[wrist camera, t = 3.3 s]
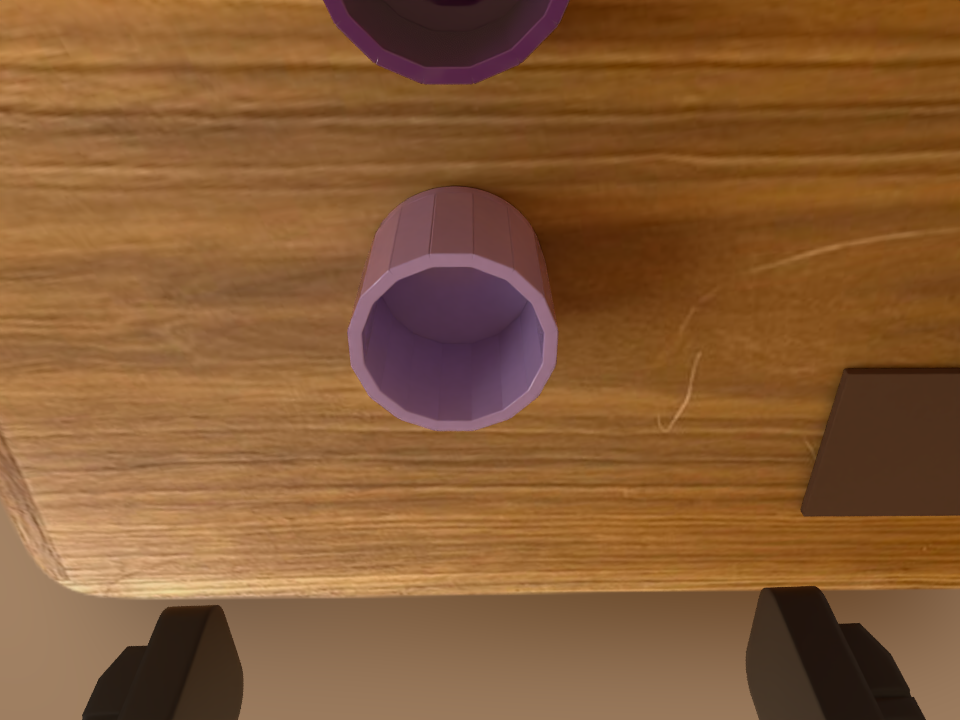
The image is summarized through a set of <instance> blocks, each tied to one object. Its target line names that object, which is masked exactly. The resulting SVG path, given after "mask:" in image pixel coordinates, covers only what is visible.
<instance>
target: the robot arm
mask: <svg viewBox="0 0 960 720" xmlns="http://www.w3.org/2000/svg"><path fill="white" fill-rule="evenodd" d="M746 673H747V680H748V685H749V689H750V693H751V696H752V699H753V702H754V705H755V708H756V711H757V714H758V717H759V720H926V719H925V717H924V715H923V713H922V712H921V710H920V708H919V706H918V705H917V702H916V700H915V698H914V697H911V695H910V689H909V687H908V685H907V683H906V682H905V680H904V678H903V676H902V674H901V672H900V670H899V668H898V667H897V665H896V663H895V661H894V659H893V657H892V656H891V654H890V653H889V652H888V651H887V650H886V649H885V648H884V647H883V646H882V645H881V644H880V643H879V642H878V641H877V640H876V639H875V638H874V637H873V636H872V635H871V634H870V633H869V632H868V631H867V630H866V629H865V628H864V627H863V626H862V625H861V624H860V623H851V624H838V622H837V620H836V618H835V616H834V614H833V612H832V610H831V608H830V606H829V604H828V602H827V599H826V598H825V596H824V594H823V593H822V591H821V590H820V589H819V588H817V587H816V586H801V587H773V588H763V589H762V590H761V593H760V595H759V599H758V604H757V608H756V612H755V616H754V620H753V625H752V629H751V633H750V638H749V642H748V646H747V651H746ZM242 698H243V671H242V666H241V663H240V660H239V657H238V653H237V650H236V647H235V645H234V641H233V638H232V635H231V633H230V630H229V626H228V623H227V620H226V617H225V614H224V611H223V609H222V608H221V607H220V606H219V605H206V606H181V607H180V606H178V607H167V608H166V609H165V610H164V611H163V612H162V614H161V615H160V617H159V619H158V621H157V624H156V626H155V629H154V631H153V633H152V636H151V638H150V641H149V643H148V646H129V647H127V648H126V649H125V650H124V651H123V652H122V653H121V654H120V655H119V657H118V658H117V659H116V660H115V661H114V662H113V663H112V664H111V666H110V667H109V668H108V669H107V670H106V671H105V672H104V673H103V675H102V676H101V677H100V678H99V679H98V682H97V684H96V686H95V688H94V691H93V693H92V695H91V697H90V699H89V701H88V704H87V706H86V708H85V710H84V712H83V715H82V716H83V719H82V720H238V717H239V713H240V709H241V704H242Z"/></svg>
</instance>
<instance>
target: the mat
mask: <svg viewBox="0 0 960 720" xmlns="http://www.w3.org/2000/svg"><path fill="white" fill-rule="evenodd" d="M801 512H802V514H803V516H949V515H960V368H902V369H844V372H843V375H842V378H841V381H840V384H839V388H838V391H837V394H836V397H835V401H834V404H833V407H832V410H831V413H830V417H829V420H828V423H827V426H826V429H825V433H824V436H823V439H822V442H821V446H820V449H819V452H818V455H817V458H816V462H815V465H814V468H813V471H812V475H811V478H810V481H809V484H808V487H807V491H806V494H805V497H804V500H803V503H802V507H801Z"/></svg>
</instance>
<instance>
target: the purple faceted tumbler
mask: <svg viewBox="0 0 960 720" xmlns="http://www.w3.org/2000/svg"><path fill="white" fill-rule="evenodd" d="M323 1H324V3H325V5H326V7H327V10H328V12H329V14H330V16H331V18H332V20H333V22H334V23H335V24H336V26H337V28H338V29H339V30H340V31H341V32H342V33H343V34H345V35H346V36H347V37H348V38H349V39H350V40H351V41H352V42H353V43H354V44H355V45H356V46H357V47H358V48H359V49H360V50H361V51H362V52H363V53H364V54H365V55H366V56H367V57H368V58H369V59H370V60H371V61H372V62H373V63H376V65H378V66H380V67H383V68H385V69H388V70H390V71H392V72H395V73H397V74H399V75H402V76H404V77H407V78H409V79H411V80H414V81H416V82H418V83H421V84H473V83H474V84H476V83H478V82H480V81H483V80H485V79H487V78H490V77H492V76H494V75H497V74H499V73H501V72H504V71H506V70H508V69H511V68H513V67H515V66H518V65H519V64H520V63H522V62H523V61H524V60H525V59H526V58H527V57H528V56H529V55H530V54H531V53H532V52H533V51H534V50H535V49H536V48H537V47H538V46H539V45H540V44H541V43H542V42H543V41H544V40H545V39H546V38H547V37H548V36H549V35H550V34H551V33H552V32H553V31H554V30H555V29H556V28H557V27H558V24H559V23H560V22H561V19H562V17H563V15H564V13H565V10H566V8H567V6H568V4H569V1H570V0H323Z"/></svg>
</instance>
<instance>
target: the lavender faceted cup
mask: <svg viewBox="0 0 960 720" xmlns="http://www.w3.org/2000/svg"><path fill="white" fill-rule="evenodd" d="M347 334H348V343H349V353H350V362H351V366H352V369H353V370H354V372H355V374H356V375H357V377H358V379H359V380H360V382H361V384H362V385H363V387H364V388H365V390H366V392H367V393H368V395H369V396H370V397H371V398H372V399H373V400H374V401H376V402H377V403H378V404H379V405H381V406H382V407H383V408H385V409H386V410H387V411H389V412H390V413H391V414H393V415H394V416H395V417H397V418H398V419H400V420H403V421H406V422H409V423H412V424H415V425H418V426H422V427H425V428H428V429H431V430H434V431H435V430H436V431H474V430H478V429H481V428H484V427H487V426H490V425H493V424H496V423H499V422H502V421H505V420H508V419H510V418H512V417H513V416H514V415H516V414H517V413H518V412H519V411H521V410H522V409H523V408H525V407H526V406H527V405H528V404H530V403H531V402H532V401H533V400H535V399H536V398H537V397H538V396H539V395H540V393H541V391H542V390H543V388H544V386H545V384H546V383H547V381H548V379H549V377H550V375H551V374H552V372H553V370H554V368H555V366H556V362H557V347H558V326H557V321H556V315H555V310H554V305H553V300H552V294H551V289H550V284H549V278H548V273H547V268H546V262H545V259H544V257H543V254H542V250H541V246H540V243H539V240H538V238H537V236H536V234H535V232H534V230H533V228H532V227H531V225H530V224H529V222H528V221H527V219H526V218H525V217H524V216H523V215H522V214H521V213H520V212H519V211H518V210H517V209H516V208H515V207H513V206H512V205H511V204H509V203H508V202H506V201H505V200H503V199H502V198H500V197H498V196H496V195H493V194H491V193H489V192H486V191H483V190H479V189H475V188H469V187H458V186H451V187H440V188H435V189H430V190H427V191H424V192H421V193H419V194H417V195H414V196H412V197H410V198H408V199H407V200H405V201H404V202H402V203H401V204H399V205H398V206H397V207H396V208H395V209H394V210H392V211H391V212H390V213H389V214H388V216H387V217H386V218H385V219H384V220H383V222H382V223H381V225H380V226H379V228H378V229H377V231H376V234H375V236H374V238H373V241H372V244H371V248H370V251H369V253H368V256H367V259H366V262H365V266H364V269H363V273H362V277H361V281H360V285H359V288H358V292H357V296H356V300H355V304H354V307H353V311H352V315H351V319H350V323H349V326H348V332H347Z"/></svg>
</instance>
